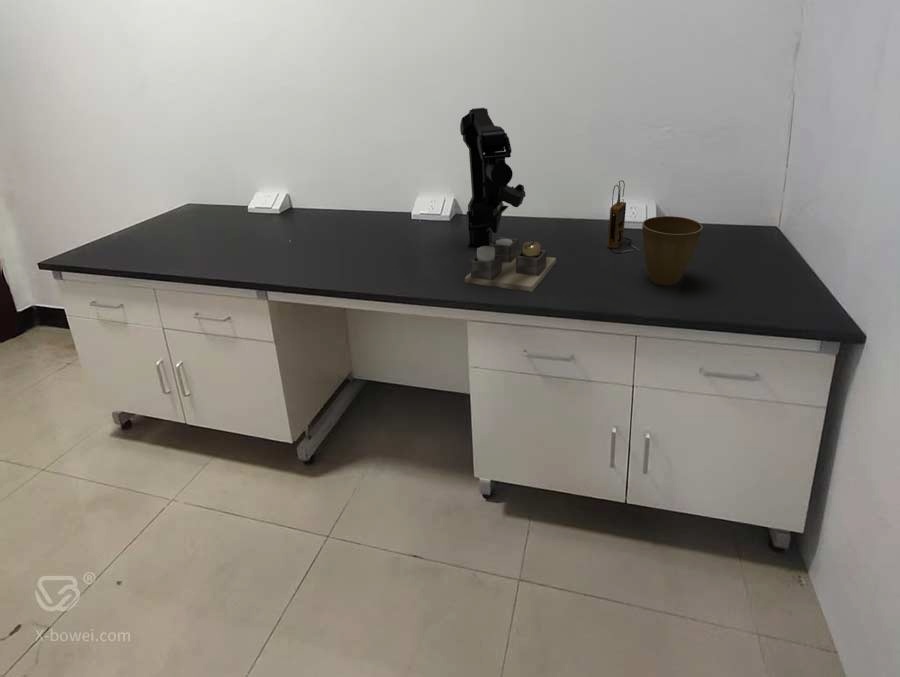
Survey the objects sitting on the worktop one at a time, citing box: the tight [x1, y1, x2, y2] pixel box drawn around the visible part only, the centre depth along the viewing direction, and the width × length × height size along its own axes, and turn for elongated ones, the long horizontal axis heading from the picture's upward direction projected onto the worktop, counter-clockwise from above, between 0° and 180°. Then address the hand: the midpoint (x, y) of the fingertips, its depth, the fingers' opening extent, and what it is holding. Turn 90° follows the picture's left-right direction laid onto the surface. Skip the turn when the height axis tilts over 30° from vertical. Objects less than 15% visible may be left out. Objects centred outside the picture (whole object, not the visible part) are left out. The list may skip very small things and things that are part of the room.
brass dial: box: [521, 241, 541, 258], centre depth 169 cm, size 5×5×5 cm
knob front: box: [476, 246, 495, 263], centre depth 168 cm, size 5×5×5 cm
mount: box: [464, 236, 557, 293], centre depth 173 cm, size 20×22×6 cm
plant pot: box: [641, 215, 704, 287], centre depth 160 cm, size 15×15×16 cm
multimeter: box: [607, 180, 640, 255], centre depth 183 cm, size 15×10×20 cm
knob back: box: [496, 239, 512, 246], centre depth 180 cm, size 5×5×5 cm
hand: (495, 232), depth 170 cm, fingers closed
